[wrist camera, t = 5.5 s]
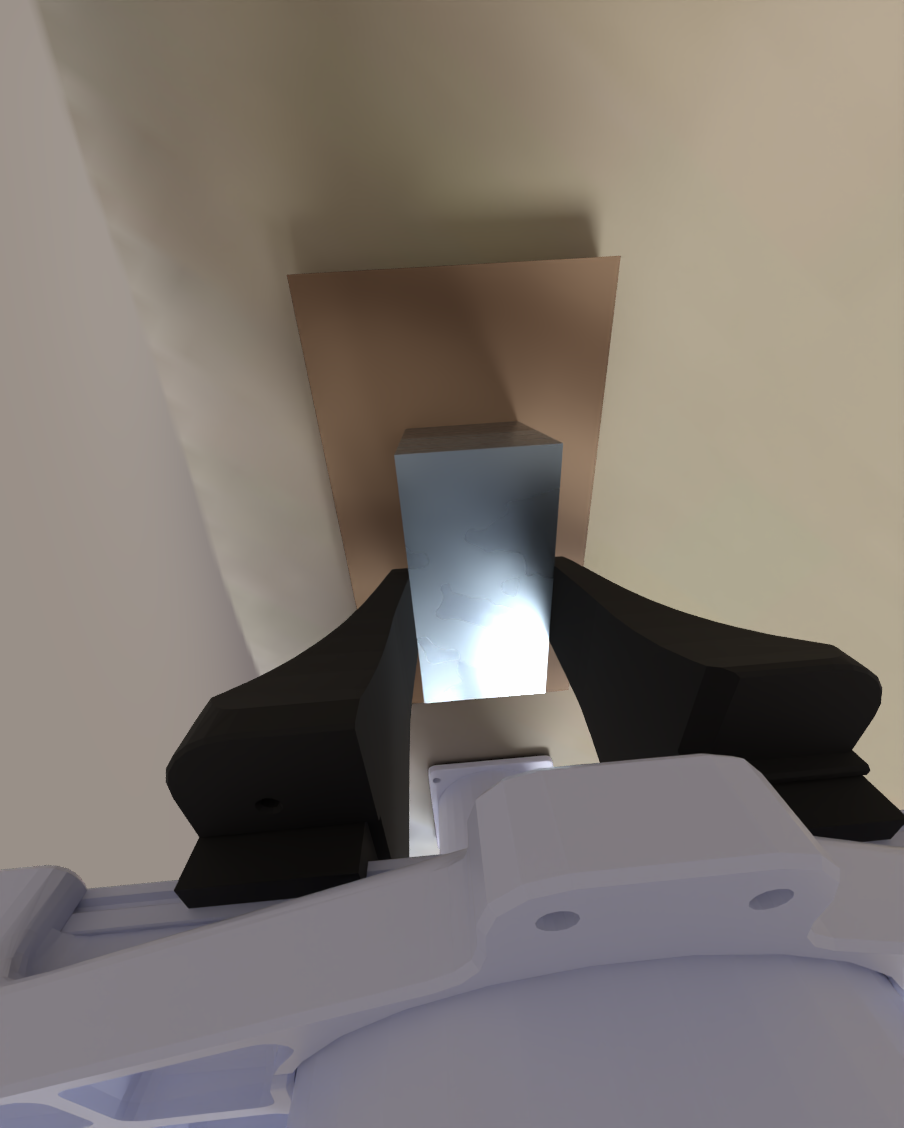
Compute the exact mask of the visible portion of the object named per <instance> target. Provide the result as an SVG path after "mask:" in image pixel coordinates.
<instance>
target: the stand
mask: <svg viewBox="0 0 904 1128" xmlns="http://www.w3.org/2000/svg"><path fill="white" fill-rule="evenodd" d="M620 257H621V256H610V257H593V258H575V259H557V260H539V261H522V262H504V263H486V264H468V265H451V266H433V267H415V268H398V269H380V270H362V271H344V272H327V273H309V274H291V275H287V278H288V283H289V287H290V292H291V297H292V302H293V307H294V311H295V316H296V321H297V326H298V330H299V335H300V340H301V345H302V350H303V354H304V359H305V364H306V369H307V373H308V378H309V383H310V388H311V393H312V397H313V402H314V407H315V412H316V416H317V421H318V426H319V431H320V435H321V440H322V445H323V450H324V455H325V459H326V464H327V469H328V474H329V478H330V483H331V488H332V493H333V498H334V502H335V507H336V512H337V517H338V521H339V526H340V531H341V536H342V541H343V545H344V550H345V555H346V560H347V564H348V569H349V574H350V579H351V584H352V588H353V593H354V598H355V603H356V607H357V609H358V608H359V607H360V606H361V605H362V604H363V603H364V602H365V601H366V600H367V599H368V597H369V596H370V595H371V594H372V593H373V592H374V591H375V589H376V588H377V587H378V586H379V585H380V583H381V582H382V581H383V580H384V578H385V577H386V576H387V575H388V573H389V572H390V571H391V570H392V569H402V568H408V563H407V555H406V547H405V539H404V530H403V522H402V514H401V506H400V498H399V490H398V482H397V474H396V466H395V457H394V454H395V452H396V450H397V447H398V445H399V443H400V440H401V438H402V436H403V433H404V431H405V429H409V428H424V427H439V426H454V425H468V424H483V423H498V422H513V421H519V422H521V423H523V424H525V425H527V426H529V427H531V428H533V429H535V430H537V431H539V432H541V433H543V434H545V435H547V436H549V437H551V438H553V439H555V440H558V441H560V442H562V443H563V453H562V467H561V481H560V494H559V508H558V522H557V536H556V549H555V557H558V556H563V557H566V558H568V559H570V560H572V561H574V562H576V563H578V564H580V565H581V566H583V564H584V556H585V548H586V539H587V531H588V523H589V514H590V506H591V498H592V489H593V481H594V473H595V464H596V456H597V448H598V439H599V431H600V423H601V415H602V406H603V398H604V390H605V381H606V373H607V365H608V356H609V348H610V340H611V331H612V323H613V315H614V306H615V298H616V290H617V281H618V273H619V265H620ZM568 689H569V681H568V679H567V677H566V675H565V673H564V671H563V669H562V667H561V664H560V662H559V660H558V658H557V656H556V654H555V652H554V650H553V648H552V646H551V644H550V642H549V645H548V659H547V673H546V687H545V692H552V691H563V690H568ZM424 702H425V701H424V693H423V685H422V677H421V669H420V660H419V652H418V656H417V665H416V673H415V681H414V690H413V698H412V704H413V703H424Z"/></svg>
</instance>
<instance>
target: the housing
mask: <svg viewBox="0 0 904 1128" xmlns="http://www.w3.org/2000/svg"><path fill="white" fill-rule="evenodd" d="M562 453H563V443H562V442H560V441H558V440H555V439H553V438H551V437H549V436H547V435H545V434H543V433H541V432H539V431H537V430H535V429H533V428H531V427H529V426H527V425H525V424H523V423H521V422H519V421H513V422H498V423H483V424H468V425H454V426H439V427H424V428H409V429H405V431H404V433H403V436H402V438H401V440H400V443H399V445H398V447H397V450H396V452H395V454H394V457H395V466H396V474H397V482H398V490H399V498H400V506H401V514H402V522H403V530H404V539H405V547H406V555H407V563H408V571H409V579H410V587H411V595H412V604H413V612H414V620H415V628H416V636H417V644H418V652H419V660H420V669H421V677H422V685H423V693H424V701H425V703H434V702H445V701H457V700H468V699H480V698H492V697H503V696H515V695H526V694H538V693H545V687H546V673H547V659H548V645H549V632H550V618H551V604H552V591H553V577H554V563H555V549H556V536H557V522H558V508H559V494H560V481H561V467H562Z"/></svg>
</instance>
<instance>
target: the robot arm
mask: <svg viewBox="0 0 904 1128" xmlns="http://www.w3.org/2000/svg"><path fill="white" fill-rule="evenodd" d="M549 642H550V644H551V646H552V648H553V650H554V652H555V654H556V656H557V658H558V660H559V662H560V664H561V667H562V669H563V671H564V673H565V675H566V677H567V679H568V681H569V683H570V685H571V687H572V689H573V691H574V693H575V695H576V698H577V700H578V702H579V705H580V707H581V709H582V712H583V715H584V718H585V720H586V723H587V726H588V729H589V732H590V734H591V737H592V740H593V743H594V746H595V749H596V752H597V755H598V758H599V761H600V763H592V764H581V765H570V766H559V767H553V762H552V758H551V757H550V756H546V755H543V756H532V757H521V758H510V759H499V760H488V761H477V762H466V763H455V764H444V765H434V766H432V767H430V768H429V769H428V778H429V785H430V793H431V800H432V807H433V814H434V822H435V829H436V836H437V844H438V848H439V849H440V855H430V856H420V857H409V754H410V717H411V706H412V698H413V690H414V681H415V673H416V665H417V656H418V644H417V636H416V628H415V620H414V612H413V604H412V595H411V587H410V579H409V571H408V568H402V569H392V570H391V571H390V572H389V573H388V575H387V576H386V577H385V578H384V580H383V581H382V582H381V583H380V585H379V586H378V587H377V588H376V589H375V591H374V592H373V593H372V594H371V595H370V596H369V597H368V599H367V600H366V601H365V602H364V603H363V604H362V605H361V606H360V607H359V608H358V609H357V610H356V611H355V612H354V613H353V614H352V615H351V616H350V617H349V618H348V619H347V620H346V621H345V622H343V623H342V624H341V625H340V626H339V627H338V628H336V629H335V630H334V631H332V632H331V633H330V634H329V635H327V636H326V637H325V638H323V639H322V640H320V641H319V642H317V643H316V644H314V645H313V646H311V647H310V648H308V649H307V650H305V651H304V652H302V653H301V654H299V655H298V656H296V657H295V658H293V659H291V660H289V661H288V662H286V663H284V664H282V665H281V666H279V667H277V668H275V669H273V670H271V671H269V672H267V673H265V674H263V675H261V676H259V677H257V678H255V679H253V680H251V681H249V682H247V683H244V684H242V685H240V686H238V687H235V688H233V689H231V690H229V691H226V692H224V693H222V694H219V695H217V696H215V697H212V698H211V699H210V701H209V702H208V703H207V705H206V706H205V708H204V709H203V711H202V712H201V714H200V715H199V716H198V718H197V719H196V721H195V722H194V724H193V726H192V727H191V729H190V730H189V732H188V733H187V735H186V736H185V738H184V739H183V741H182V743H181V744H180V746H179V747H178V749H177V750H176V752H175V753H174V755H173V756H172V758H171V760H170V762H169V764H168V766H167V768H166V783H167V786H168V788H169V790H170V792H171V794H172V797H173V799H174V800H175V801H176V803H177V805H178V806H179V808H180V809H181V811H182V812H183V814H184V815H185V817H186V818H187V819H188V821H189V822H190V824H191V825H192V827H193V828H194V830H195V831H196V833H197V834H198V836H199V839H198V841H197V843H196V846H195V847H194V850H193V852H192V854H191V856H190V858H189V860H188V862H187V864H186V866H185V868H184V870H183V872H182V874H181V876H180V878H179V880H172V881H161V882H151V883H141V884H131V885H120V886H111V887H100V888H90V889H87V888H86V885H85V883H84V882H83V881H82V879H81V878H80V877H79V876H78V875H77V874H76V873H75V872H73V871H71V870H69V869H67V868H64V867H60V866H51V865H44V866H33V867H23V868H13V869H3V870H0V1128H904V810H899V809H898V808H897V807H896V806H895V805H894V804H892V803H891V802H890V801H889V800H888V799H887V798H886V797H885V796H884V795H883V794H882V793H881V792H880V791H879V790H878V789H876V788H875V787H874V786H873V785H872V784H871V783H870V782H869V781H868V780H867V779H866V778H865V777H864V776H863V775H867V774H868V773H869V771H870V768H869V765H868V764H867V763H866V762H865V761H864V760H862V759H861V758H860V757H859V756H858V755H857V754H856V753H855V752H854V751H852V749H853V748H854V746H855V745H856V743H857V742H858V740H859V739H860V737H861V736H862V734H863V733H864V731H865V730H866V728H867V727H868V725H869V724H870V722H871V721H872V719H873V718H874V716H875V714H876V712H877V710H878V708H879V706H880V704H881V696H882V686H881V684H880V681H879V679H878V677H877V676H876V675H875V674H873V673H872V672H871V671H870V670H868V669H867V668H866V667H864V666H863V665H861V664H860V663H859V662H857V661H856V660H854V659H853V658H851V657H850V656H848V655H847V654H846V653H844V652H843V651H841V650H840V649H838V648H837V647H835V646H833V645H829V644H823V643H817V642H811V641H805V640H799V639H793V638H787V637H781V636H775V635H770V634H765V633H760V632H756V631H751V630H747V629H742V628H738V627H734V626H730V625H726V624H722V623H718V622H714V621H711V620H708V619H704V618H701V617H698V616H694V615H691V614H688V613H685V612H682V611H679V610H676V609H673V608H670V607H668V606H665V605H662V604H660V603H657V602H654V601H652V600H649V599H647V598H645V597H642V596H640V595H638V594H636V593H634V592H631V591H629V590H627V589H625V588H623V587H621V586H619V585H617V584H615V583H613V582H611V581H609V580H607V579H605V578H603V577H601V576H600V575H598V574H596V573H594V572H592V571H590V570H589V569H587V568H585V567H583V566H581V565H580V564H578V563H576V562H574V561H572V560H570V559H568V558H566V557H563V556H558V557H555V563H554V577H553V591H552V604H551V618H550V632H549Z"/></svg>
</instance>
